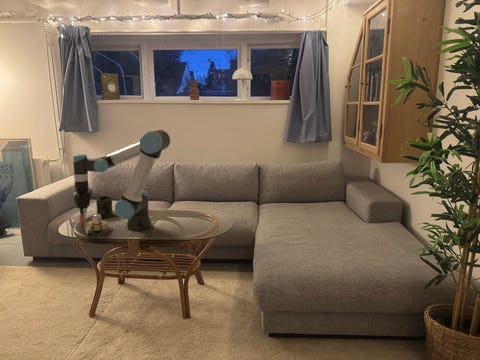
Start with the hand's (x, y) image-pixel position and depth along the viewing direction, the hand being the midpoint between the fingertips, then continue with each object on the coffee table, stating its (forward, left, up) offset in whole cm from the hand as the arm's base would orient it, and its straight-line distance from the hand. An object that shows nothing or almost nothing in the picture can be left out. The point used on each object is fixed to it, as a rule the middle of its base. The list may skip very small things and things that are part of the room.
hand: (83, 218), depth 224 cm
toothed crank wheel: (-7, -1, -6) cm, 9 cm away
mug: (+10, -27, -7) cm, 30 cm away
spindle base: (-9, -1, -7) cm, 11 cm away
